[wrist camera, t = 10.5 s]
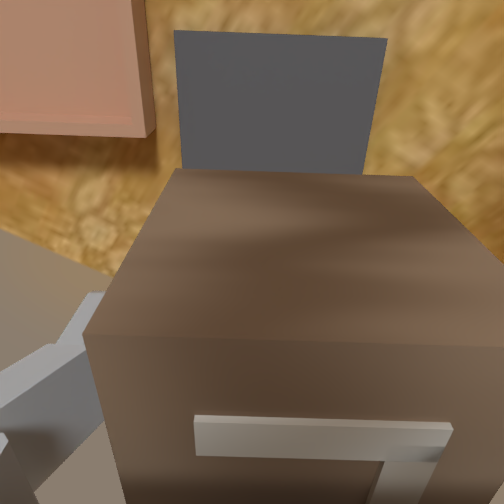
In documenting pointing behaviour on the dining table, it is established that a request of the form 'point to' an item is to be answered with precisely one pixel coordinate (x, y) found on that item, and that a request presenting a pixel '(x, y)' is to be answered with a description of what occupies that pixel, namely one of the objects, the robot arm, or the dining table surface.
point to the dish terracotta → (75, 68)
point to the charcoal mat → (276, 100)
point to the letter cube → (302, 346)
